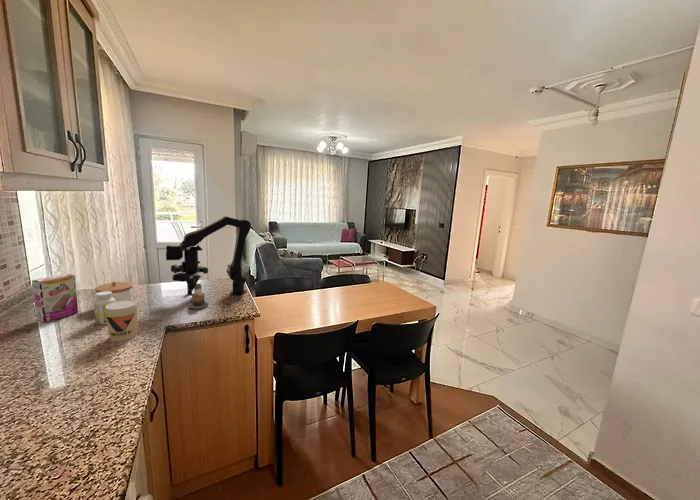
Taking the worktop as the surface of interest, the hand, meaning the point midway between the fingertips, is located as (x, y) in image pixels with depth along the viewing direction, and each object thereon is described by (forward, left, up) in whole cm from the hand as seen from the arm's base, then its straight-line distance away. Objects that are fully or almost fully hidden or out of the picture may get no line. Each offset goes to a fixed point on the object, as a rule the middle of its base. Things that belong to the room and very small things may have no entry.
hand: (191, 290), depth 140 cm
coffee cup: (+39, +1, -5) cm, 39 cm away
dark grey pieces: (+2, +3, -4) cm, 5 cm away
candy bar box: (+31, -35, -5) cm, 47 cm away
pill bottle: (+30, -15, -5) cm, 34 cm away
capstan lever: (+2, +5, -3) cm, 6 cm away
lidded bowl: (+16, -25, -5) cm, 30 cm away
